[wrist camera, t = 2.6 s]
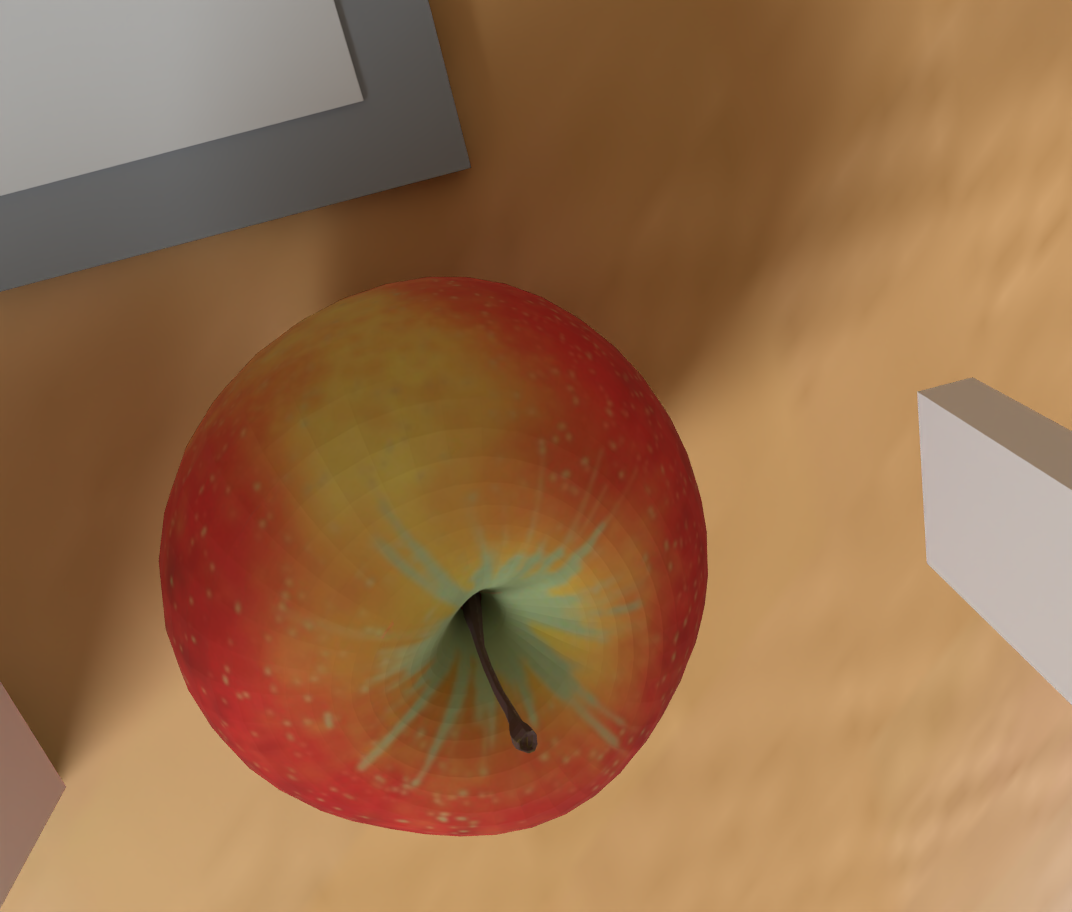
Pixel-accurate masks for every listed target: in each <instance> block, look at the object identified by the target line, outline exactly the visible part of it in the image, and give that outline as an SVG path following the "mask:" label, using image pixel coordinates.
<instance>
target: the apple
mask: <svg viewBox="0 0 1072 912" xmlns="http://www.w3.org/2000/svg"><path fill="white" fill-rule="evenodd" d="M159 567H160V578H161V588H162V598H163V607H164V617H165V626H166V631H167V634H168V636H169V639H170V642H171V645H172V648H173V650H174V653H175V656H176V659H177V662H178V664H179V667H180V670H181V673H182V675H183V678H184V680H185V683H186V685H187V688H188V690H189V692H190V693H191V695H192V696H193V698H194V700H195V701H196V703H197V704H198V706H199V708H200V709H201V711H202V712H203V714H204V716H205V717H206V719H207V720H208V722H209V724H210V725H211V727H212V728H213V729H214V730H215V731H216V733H217V734H218V735H219V736H220V737H221V738H222V740H223V741H224V742H225V743H226V744H227V745H228V746H229V747H230V748H231V749H232V750H233V751H234V752H235V753H236V754H237V756H238V757H239V758H240V759H241V760H242V761H243V762H244V763H245V764H246V765H247V766H248V767H249V768H250V769H251V770H253V771H254V772H255V773H257V774H258V775H260V776H261V777H262V778H264V779H265V780H267V781H268V782H269V783H271V784H272V785H274V786H275V787H276V788H278V789H279V790H281V791H283V792H285V793H287V794H289V795H291V796H293V797H295V798H297V799H299V800H301V801H303V802H305V803H307V804H309V805H311V806H313V807H315V808H317V809H319V810H321V811H324V812H327V813H330V814H333V815H336V816H339V817H342V818H345V819H348V820H351V821H355V822H360V823H365V824H370V825H375V826H380V827H384V828H390V829H395V830H402V831H408V832H415V833H422V834H432V835H447V836H478V835H497V834H502V833H507V832H512V831H517V830H522V829H527V828H532V827H534V826H537V825H539V824H542V823H545V822H547V821H550V820H552V819H555V818H557V817H560V816H562V815H565V814H567V813H568V812H570V811H571V810H573V809H575V808H576V807H578V806H579V805H581V804H582V803H584V802H586V801H587V800H589V799H590V798H592V797H594V796H595V795H596V794H597V793H599V792H600V791H601V790H602V789H603V788H604V787H605V786H606V785H607V784H608V783H610V782H611V781H612V780H613V779H614V778H615V777H616V776H617V775H618V774H620V773H621V771H622V770H623V769H624V768H625V766H626V765H627V764H628V762H629V761H630V760H631V759H632V758H633V756H634V755H635V754H636V753H637V752H638V750H639V749H640V748H641V747H642V746H643V745H644V743H645V742H646V741H647V739H648V738H649V736H650V735H651V733H652V731H653V730H654V728H655V727H656V725H657V723H658V722H659V720H660V719H661V717H662V716H663V714H664V712H665V710H666V708H667V706H668V704H669V702H670V700H671V698H672V696H673V694H674V692H675V691H676V689H677V687H678V685H679V683H680V681H681V679H682V676H683V673H684V670H685V668H686V665H687V663H688V660H689V658H690V655H691V653H692V650H693V648H694V646H695V643H696V639H697V635H698V631H699V627H700V623H701V619H702V615H703V610H704V605H705V598H706V588H707V579H708V564H707V531H706V525H705V519H704V513H703V507H702V501H701V497H700V494H699V490H698V486H697V483H696V480H695V477H694V473H693V470H692V467H691V464H690V461H689V457H688V454H687V452H686V450H685V448H684V446H683V444H682V441H681V439H680V437H679V435H678V433H677V431H676V429H675V427H674V425H673V422H672V420H671V419H670V417H669V416H668V414H667V412H666V411H665V409H664V408H663V406H662V405H661V403H660V402H659V400H658V399H657V397H656V396H655V394H654V393H653V392H652V390H651V389H650V387H649V386H648V384H647V383H646V381H645V380H644V378H643V377H642V376H641V375H640V374H639V372H638V371H637V370H636V369H635V368H634V367H633V366H632V365H631V364H630V363H629V362H628V361H627V360H626V358H625V357H624V356H623V355H622V354H621V353H620V352H619V351H618V350H617V349H616V348H615V347H614V346H613V345H612V344H610V343H609V342H608V341H607V340H605V339H604V338H603V337H602V336H600V335H599V334H598V333H597V332H595V331H594V330H593V329H592V328H591V327H589V326H588V325H587V324H586V323H584V322H583V321H582V320H580V319H579V318H577V317H576V316H574V315H572V314H571V313H569V312H567V311H565V310H564V309H562V308H560V307H558V306H557V305H555V304H553V303H551V302H550V301H548V300H546V299H544V298H543V297H540V296H537V295H535V294H532V293H529V292H527V291H524V290H521V289H518V288H516V287H513V286H510V285H507V284H504V283H498V282H492V281H487V280H481V279H475V278H470V277H424V278H418V279H412V280H407V281H401V282H395V283H389V284H384V285H381V286H379V287H376V288H373V289H370V290H367V291H364V292H361V293H358V294H355V295H352V296H349V297H346V298H344V299H342V300H340V301H338V302H336V303H334V304H332V305H330V306H328V307H326V308H324V309H322V310H321V311H319V312H317V313H315V314H313V315H311V316H309V317H307V318H305V319H304V320H302V321H301V322H299V323H297V324H296V325H295V326H293V327H292V328H291V329H289V330H288V331H286V332H285V333H284V334H282V335H281V336H280V337H278V338H277V339H276V340H274V341H273V342H272V343H270V344H269V345H268V346H266V347H265V348H264V349H262V350H261V351H260V352H258V353H257V354H256V355H255V356H254V357H253V358H252V359H251V360H250V361H249V363H248V364H247V365H246V366H245V367H244V368H243V369H242V370H241V371H240V372H239V373H238V374H237V376H236V377H235V378H234V379H233V380H232V381H231V382H230V383H229V384H228V385H227V386H226V387H225V388H224V390H223V391H222V392H221V393H220V395H219V396H218V397H217V398H216V400H215V401H214V402H213V403H212V405H211V407H210V408H209V410H208V411H207V413H206V415H205V416H204V418H203V420H202V421H201V423H200V425H199V426H198V428H197V430H196V431H195V433H194V435H193V436H192V438H191V440H190V441H189V443H188V445H187V446H186V449H185V452H184V455H183V458H182V461H181V464H180V466H179V469H178V472H177V475H176V478H175V481H174V484H173V487H172V489H171V492H170V496H169V499H168V502H167V506H166V509H165V512H164V520H163V529H162V537H161V546H160V555H159Z"/></svg>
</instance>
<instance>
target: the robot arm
mask: <svg viewBox="0 0 1072 912" xmlns="http://www.w3.org/2000/svg"><path fill="white" fill-rule="evenodd" d="M917 395H918V413H919V431H920V449H921V467H922V484H923V502H924V520H925V538H926V556H927V564H928V565H929V566H930V567H931V568H933V569H934V570H935V571H936V572H937V573H938V574H939V575H940V576H941V577H942V578H943V579H944V580H945V581H946V582H947V583H948V584H949V585H950V586H951V587H952V588H953V589H954V590H955V591H956V592H957V593H958V594H959V595H960V596H961V597H962V598H963V599H964V600H965V601H966V602H967V603H968V604H969V605H970V606H971V607H972V608H973V609H974V610H975V611H976V612H977V613H978V614H979V615H981V616H982V617H983V618H984V619H985V620H986V621H987V622H988V623H989V624H990V625H991V626H992V627H993V628H994V629H995V630H996V631H997V632H998V633H999V634H1000V635H1001V636H1002V637H1003V638H1004V639H1005V640H1006V641H1007V642H1008V643H1009V644H1010V645H1011V646H1012V647H1013V648H1014V649H1015V650H1016V651H1017V652H1018V653H1019V654H1020V655H1021V656H1022V657H1023V658H1024V659H1025V660H1026V661H1027V662H1029V663H1030V664H1031V665H1032V666H1033V667H1034V668H1035V669H1036V670H1037V671H1038V672H1039V673H1040V674H1041V675H1042V676H1043V677H1044V678H1045V679H1046V680H1047V681H1048V682H1049V683H1050V684H1051V685H1052V686H1053V687H1054V688H1055V689H1056V690H1057V691H1058V692H1059V693H1060V694H1061V695H1062V696H1063V697H1064V698H1065V699H1066V700H1067V701H1068V702H1069V703H1070V704H1071V705H1072V431H1070V430H1069V429H1067V428H1065V427H1063V426H1061V425H1059V424H1058V423H1056V422H1054V421H1052V420H1050V419H1048V418H1047V417H1045V416H1043V415H1041V414H1039V413H1037V412H1035V411H1034V410H1032V409H1030V408H1028V407H1026V406H1024V405H1023V404H1021V403H1019V402H1017V401H1015V400H1013V399H1012V398H1010V397H1008V396H1006V395H1004V394H1002V393H1001V392H999V391H997V390H995V389H993V388H991V387H990V386H988V385H986V384H984V383H982V382H980V381H978V380H977V379H975V378H973V377H972V378H968V379H964V380H960V381H956V382H953V383H949V384H945V385H941V386H937V387H933V388H930V389H926V390H922V391H918V392H917ZM65 788H66V786H65V784H64V783H63V781H62V779H61V778H60V776H59V775H58V773H57V771H56V770H55V768H54V767H53V765H52V763H51V762H50V760H49V759H48V757H47V755H46V754H45V752H44V751H43V749H42V747H41V746H40V744H39V743H38V741H37V739H36V738H35V736H34V735H33V733H32V731H31V730H30V728H29V726H28V725H27V723H26V722H25V720H24V718H23V717H22V715H21V714H20V712H19V710H18V709H17V707H16V706H15V704H14V702H13V701H12V699H11V698H10V696H9V694H8V693H7V691H6V690H5V688H4V686H3V685H2V683H1V682H0V908H1V906H2V904H3V902H4V901H5V899H6V897H7V895H8V893H9V891H10V889H11V888H12V886H13V884H14V882H15V880H16V878H17V876H18V875H19V873H20V871H21V869H22V867H23V865H24V864H25V862H26V860H27V858H28V856H29V854H30V852H31V851H32V849H33V847H34V845H35V843H36V841H37V840H38V838H39V836H40V834H41V832H42V830H43V828H44V827H45V825H46V823H47V821H48V819H49V817H50V815H51V814H52V812H53V810H54V808H55V806H56V804H57V803H58V801H59V799H60V797H61V795H62V793H63V791H64V790H65Z"/></svg>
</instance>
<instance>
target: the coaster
mask: <svg viewBox="0 0 1072 912" xmlns="http://www.w3.org/2000/svg"><path fill="white" fill-rule="evenodd" d="M468 168H471V165H470V161H469V157H468V153H467V150H466V146H465V142H464V138H463V134H462V130H461V126H460V122H459V118H458V115H457V111H456V107H455V103H454V99H453V95H452V91H451V87H450V83H449V80H448V76H447V72H446V68H445V64H444V60H443V56H442V52H441V48H440V45H439V41H438V37H437V33H436V29H435V25H434V21H433V17H432V13H431V10H430V6H429V2H428V0H0V292H1V291H5V290H8V289H12V288H16V287H20V286H24V285H27V284H31V283H35V282H39V281H43V280H46V279H50V278H54V277H58V276H62V275H65V274H69V273H73V272H77V271H81V270H84V269H88V268H92V267H96V266H100V265H103V264H107V263H111V262H115V261H119V260H122V259H126V258H130V257H134V256H138V255H141V254H145V253H149V252H153V251H157V250H160V249H164V248H168V247H172V246H176V245H179V244H183V243H187V242H191V241H195V240H198V239H202V238H206V237H210V236H213V235H217V234H221V233H225V232H229V231H232V230H236V229H240V228H244V227H248V226H251V225H255V224H259V223H263V222H267V221H270V220H274V219H278V218H282V217H286V216H289V215H293V214H297V213H301V212H305V211H308V210H312V209H316V208H320V207H324V206H327V205H331V204H335V203H339V202H343V201H346V200H350V199H354V198H358V197H362V196H365V195H369V194H373V193H377V192H381V191H384V190H388V189H392V188H396V187H400V186H403V185H407V184H411V183H415V182H419V181H422V180H426V179H430V178H434V177H438V176H441V175H445V174H449V173H453V172H457V171H460V170H464V169H468Z"/></svg>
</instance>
